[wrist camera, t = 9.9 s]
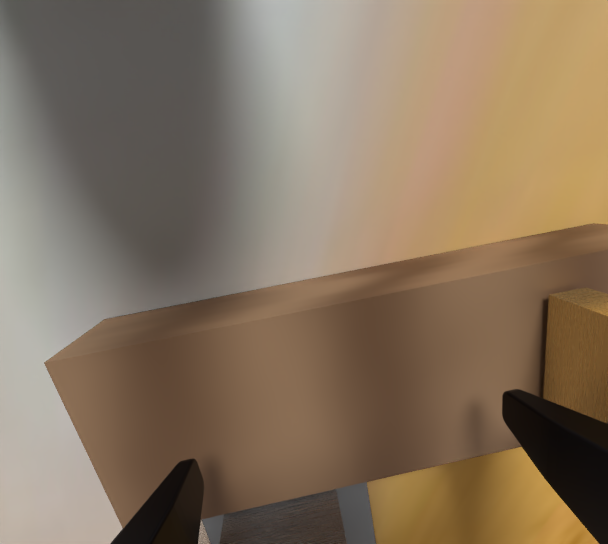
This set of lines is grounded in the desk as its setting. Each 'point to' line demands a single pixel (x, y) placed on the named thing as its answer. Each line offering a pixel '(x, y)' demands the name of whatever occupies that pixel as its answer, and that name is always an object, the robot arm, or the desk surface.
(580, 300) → the tan wooden flat block
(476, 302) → the body
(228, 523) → the grey knobbed cube
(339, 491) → the pad
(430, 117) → the desk surface
